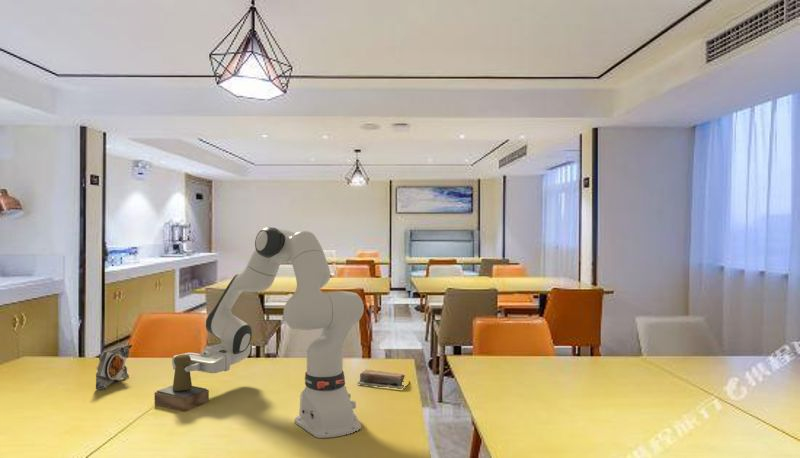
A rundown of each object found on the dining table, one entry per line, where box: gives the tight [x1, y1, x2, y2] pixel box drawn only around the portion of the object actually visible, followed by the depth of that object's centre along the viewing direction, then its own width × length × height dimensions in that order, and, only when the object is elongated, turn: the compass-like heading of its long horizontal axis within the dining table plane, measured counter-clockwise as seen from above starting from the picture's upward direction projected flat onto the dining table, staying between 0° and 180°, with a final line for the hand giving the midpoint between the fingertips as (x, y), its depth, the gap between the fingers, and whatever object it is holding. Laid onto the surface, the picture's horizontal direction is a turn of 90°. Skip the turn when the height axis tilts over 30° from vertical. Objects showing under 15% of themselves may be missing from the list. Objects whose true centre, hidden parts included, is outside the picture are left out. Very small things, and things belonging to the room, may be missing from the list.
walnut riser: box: [154, 385, 210, 412], centre depth 168 cm, size 10×14×4 cm
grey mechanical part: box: [95, 344, 133, 391], centre depth 188 cm, size 15×4×13 cm, turn 175°
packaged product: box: [357, 369, 406, 389], centre depth 189 cm, size 18×5×10 cm
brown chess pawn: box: [172, 353, 193, 391], centre depth 168 cm, size 6×6×11 cm
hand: (179, 368), depth 167 cm, fingers closed on brown chess pawn, 4 cm apart
